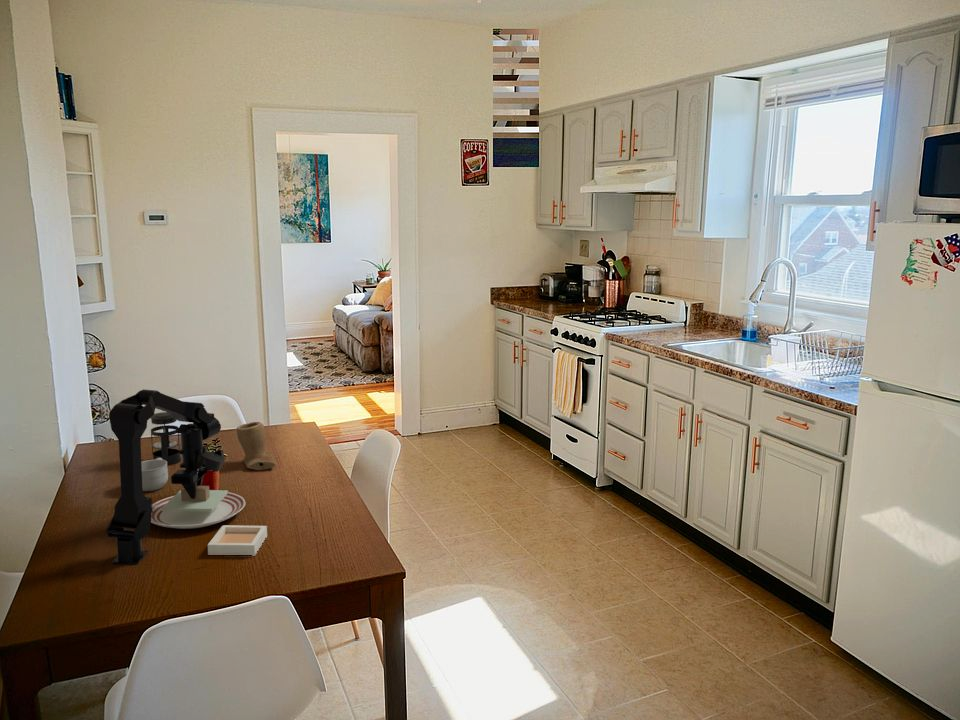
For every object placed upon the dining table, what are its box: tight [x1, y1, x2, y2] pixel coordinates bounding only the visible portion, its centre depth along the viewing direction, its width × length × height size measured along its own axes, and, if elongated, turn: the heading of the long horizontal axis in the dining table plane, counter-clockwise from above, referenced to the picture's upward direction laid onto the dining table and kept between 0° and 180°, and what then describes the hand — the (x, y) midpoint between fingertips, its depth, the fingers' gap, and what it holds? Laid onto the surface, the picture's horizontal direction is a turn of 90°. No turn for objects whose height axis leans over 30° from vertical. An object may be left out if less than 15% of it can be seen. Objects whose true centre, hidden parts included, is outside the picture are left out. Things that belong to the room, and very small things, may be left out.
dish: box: [207, 524, 268, 557], centre depth 196 cm, size 12×12×3 cm
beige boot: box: [236, 421, 277, 471], centre depth 256 cm, size 15×12×15 cm
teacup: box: [141, 458, 169, 492], centre depth 235 cm, size 14×11×8 cm
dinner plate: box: [151, 491, 246, 530], centre depth 214 cm, size 27×27×3 cm
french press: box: [149, 411, 182, 467], centre depth 256 cm, size 12×9×23 cm
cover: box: [162, 485, 229, 512], centre depth 213 cm, size 14×14×4 cm
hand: (195, 496), depth 213 cm, fingers closed on cover, 3 cm apart
